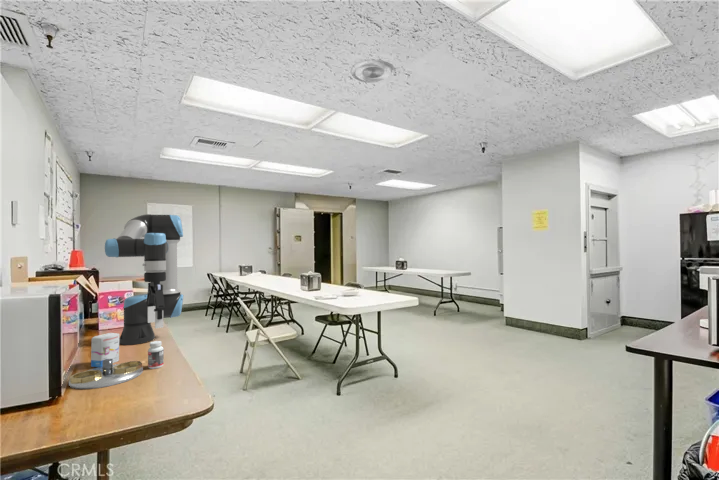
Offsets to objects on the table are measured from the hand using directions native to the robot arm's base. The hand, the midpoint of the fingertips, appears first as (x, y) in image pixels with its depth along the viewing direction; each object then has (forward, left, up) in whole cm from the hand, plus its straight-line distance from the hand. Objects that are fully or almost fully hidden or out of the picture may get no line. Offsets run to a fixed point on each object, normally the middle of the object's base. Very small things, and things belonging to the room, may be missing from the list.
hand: (155, 325), depth 138 cm
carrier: (+10, -12, -17) cm, 23 cm away
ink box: (-5, -23, -17) cm, 29 cm away
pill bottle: (0, 0, -17) cm, 17 cm away
